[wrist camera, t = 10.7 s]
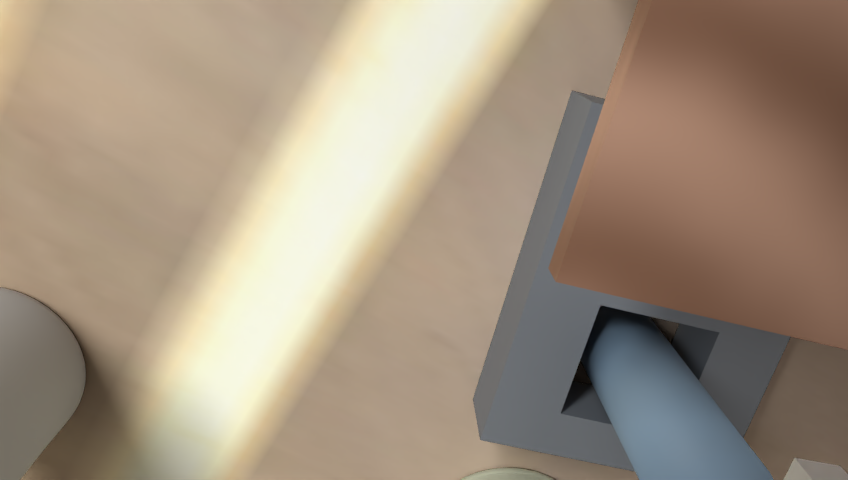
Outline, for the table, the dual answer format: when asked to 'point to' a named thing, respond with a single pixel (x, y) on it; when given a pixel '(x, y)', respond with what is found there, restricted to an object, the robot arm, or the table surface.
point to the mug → (34, 380)
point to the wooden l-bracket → (722, 168)
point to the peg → (662, 405)
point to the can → (507, 475)
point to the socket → (570, 328)
